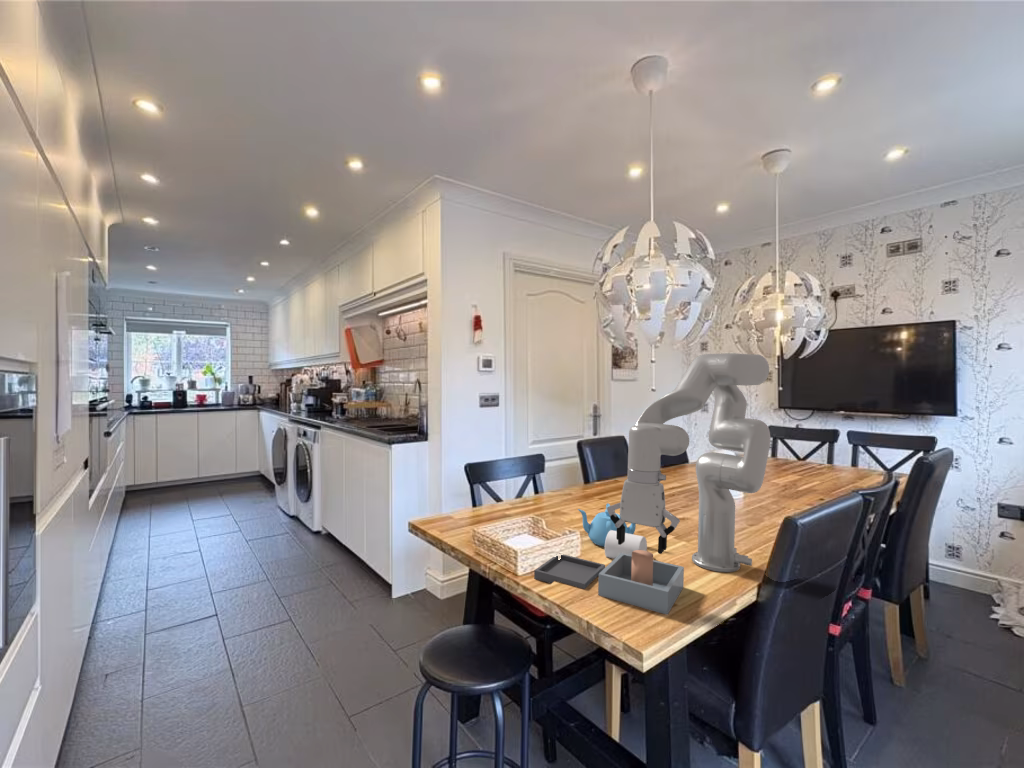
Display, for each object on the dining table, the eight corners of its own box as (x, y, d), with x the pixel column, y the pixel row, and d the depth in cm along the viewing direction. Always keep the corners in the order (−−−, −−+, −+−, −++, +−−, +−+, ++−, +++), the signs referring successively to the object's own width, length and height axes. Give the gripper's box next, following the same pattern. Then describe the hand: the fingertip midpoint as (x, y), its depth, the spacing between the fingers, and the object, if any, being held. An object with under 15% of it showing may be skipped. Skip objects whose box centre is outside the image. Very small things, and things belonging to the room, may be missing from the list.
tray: (605, 572, 122) (605, 564, 122) (584, 593, 111) (584, 584, 111) (558, 560, 130) (558, 553, 130) (534, 578, 118) (534, 570, 118)
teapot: (607, 554, 136) (608, 520, 136) (574, 538, 149) (575, 507, 148) (641, 545, 144) (642, 513, 144) (607, 531, 156) (608, 501, 156)
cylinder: (655, 589, 111) (655, 552, 111) (649, 597, 107) (649, 559, 106) (634, 584, 114) (635, 548, 113) (628, 592, 109) (629, 554, 109)
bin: (683, 590, 113) (683, 566, 112) (667, 619, 99) (667, 591, 99) (620, 575, 121) (621, 552, 121) (598, 599, 108) (598, 574, 108)
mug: (638, 570, 125) (639, 541, 124) (604, 562, 130) (604, 534, 130) (650, 556, 135) (651, 529, 135) (618, 549, 140) (618, 523, 140)
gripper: (684, 479, 108) (681, 551, 108) (614, 469, 117) (611, 536, 117) (677, 484, 102) (674, 560, 102) (603, 474, 111) (601, 544, 111)
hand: (640, 547), depth 110 cm, fingers open, 9 cm apart
